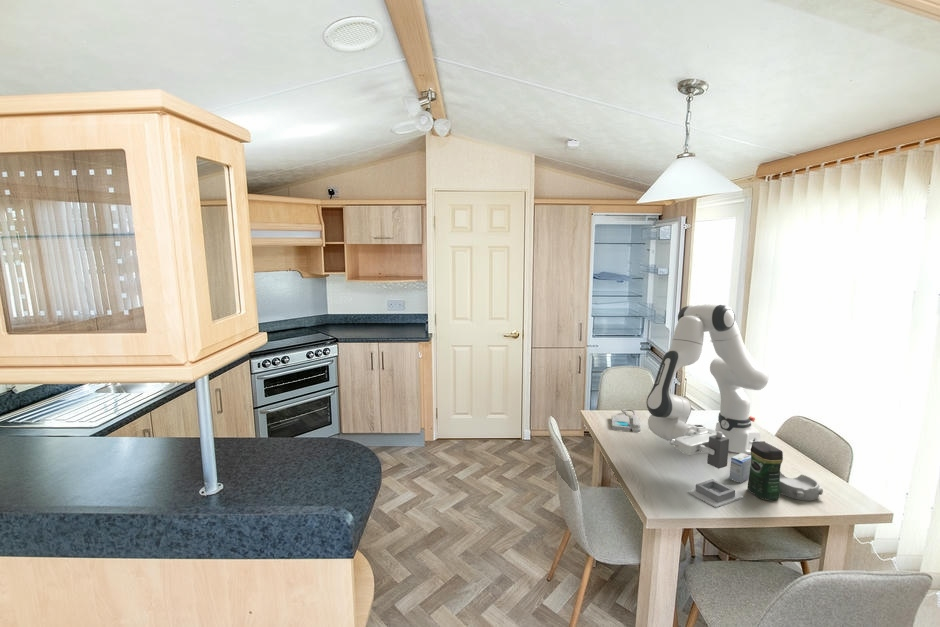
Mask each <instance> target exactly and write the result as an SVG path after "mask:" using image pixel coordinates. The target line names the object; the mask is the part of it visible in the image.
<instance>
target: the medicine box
mask: <svg viewBox="0 0 940 627" xmlns="http://www.w3.org/2000/svg"><path fill="white" fill-rule="evenodd" d="M750 467H751V454H746V453H738V454H736V455H734V456H732V457H730V467H729V477H728V478H729V479H730V480H732V479H733V480H732V481H734V480H735V482H737V483H739V482H740V483H739V484H742V483H743V482H745V481H748V480H749V474H750Z"/></svg>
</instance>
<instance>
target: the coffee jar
mask: <svg viewBox="0 0 940 627" xmlns="http://www.w3.org/2000/svg"><path fill="white" fill-rule="evenodd" d="M783 453H784V452H783V451H782V450H781V449H779V448H778V447H776V446H773V444H770V443H768V442H766V441H763V440H760V441H757V442H754V443H753V444H752V446H751V454H750V456H751V467H750V474H749V479H747V490H748V491H749V492H750V493H751V494H753V495H754V496H756V497H757V498H758V499H760V500H766V501H770V500H771V501H776V500H779V498H780V494H781V493H780V472H781V466H782V463H783V460H784V454H783Z"/></svg>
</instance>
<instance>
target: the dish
mask: <svg viewBox="0 0 940 627" xmlns="http://www.w3.org/2000/svg"><path fill="white" fill-rule="evenodd" d="M823 493H824V490H823V487H820V483H819V482H818V481H817V480H816V479H814V478H812V477H811V476H808V475H805V474H800V475H798V476H797V477H793V478H792V477H787V476H785V475H784V474H783V473H782V472H781V471H780V494H781V495H783V496H786V497H789V498H792V499H795V500H800V501H815V500H817V499H819V497H820V496H822V495H823Z"/></svg>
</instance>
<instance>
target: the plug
mask: <svg viewBox="0 0 940 627" xmlns="http://www.w3.org/2000/svg"><path fill="white" fill-rule="evenodd" d="M708 448H714V449H716V454H714V455H711V454H709V453H707V462H706V463H707V464H708V465H710V466H712V467H713V468H716V469H718V470H719V469H722V468H725V467H728V458H729V451H728V448H729V439H728V438H725V437H723V436H722V432H720V431H717V433H716V435H713V436H709V445H708Z"/></svg>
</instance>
